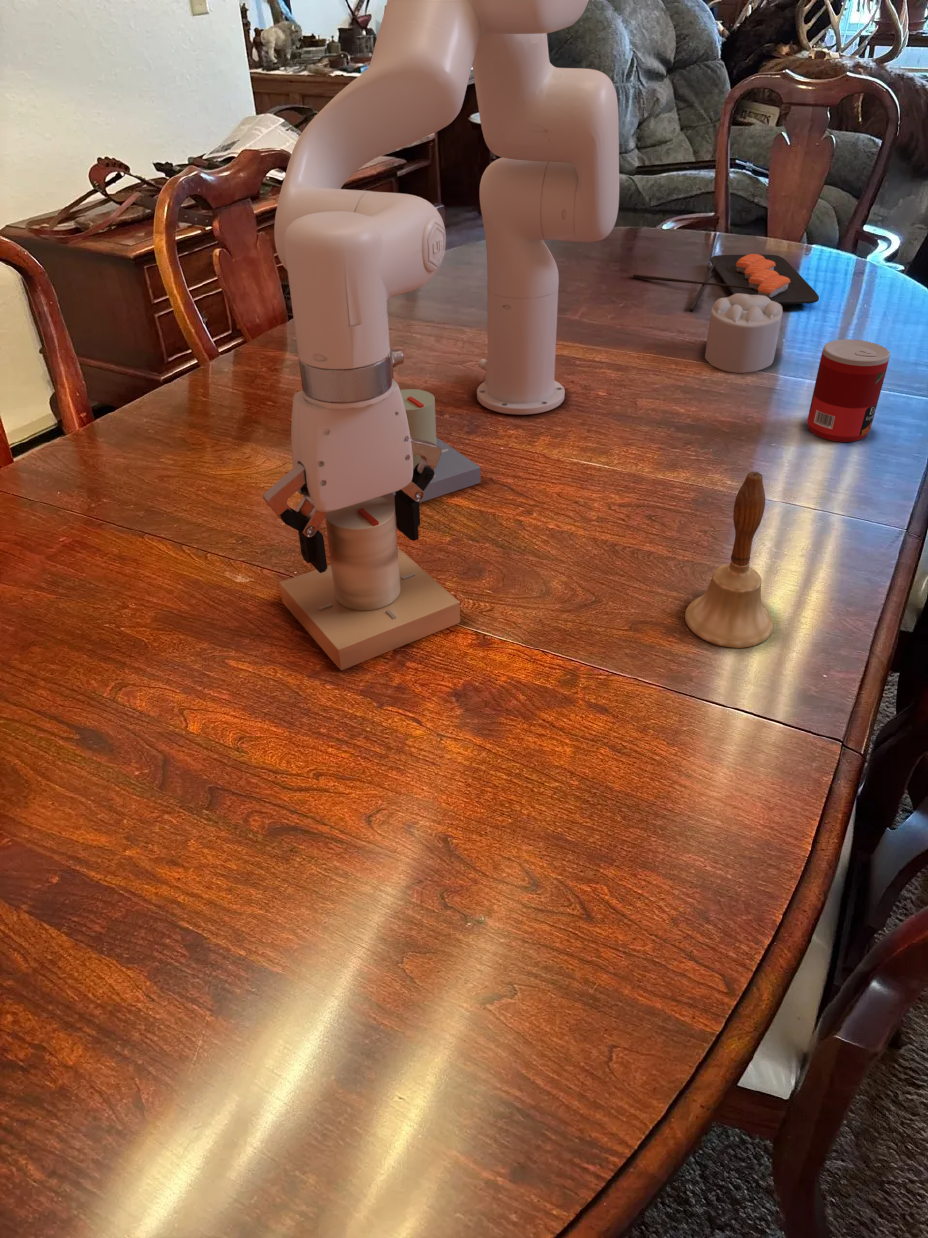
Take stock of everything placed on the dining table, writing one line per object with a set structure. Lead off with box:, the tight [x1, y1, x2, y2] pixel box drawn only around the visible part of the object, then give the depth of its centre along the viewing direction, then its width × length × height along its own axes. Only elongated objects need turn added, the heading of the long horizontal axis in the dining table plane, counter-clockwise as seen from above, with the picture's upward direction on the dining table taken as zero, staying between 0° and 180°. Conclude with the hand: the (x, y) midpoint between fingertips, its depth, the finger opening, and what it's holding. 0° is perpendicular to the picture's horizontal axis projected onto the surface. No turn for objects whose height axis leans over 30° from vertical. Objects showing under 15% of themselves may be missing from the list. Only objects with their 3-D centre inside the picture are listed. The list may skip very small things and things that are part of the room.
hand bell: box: [684, 471, 774, 649], centre depth 84 cm, size 8×8×16 cm
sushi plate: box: [632, 253, 820, 312], centre depth 171 cm, size 29×30×4 cm
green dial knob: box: [400, 388, 437, 469], centre depth 110 cm, size 6×6×8 cm
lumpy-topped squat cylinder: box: [704, 293, 783, 374], centre depth 141 cm, size 10×13×9 cm
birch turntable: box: [278, 547, 461, 672], centre depth 90 cm, size 13×13×3 cm
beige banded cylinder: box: [324, 497, 401, 611], centre depth 87 cm, size 6×6×9 cm
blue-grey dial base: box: [380, 436, 482, 508], centre depth 113 cm, size 12×12×2 cm
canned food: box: [806, 339, 891, 443], centre depth 119 cm, size 8×8×11 cm
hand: (363, 549), depth 87 cm, fingers open, 9 cm apart
